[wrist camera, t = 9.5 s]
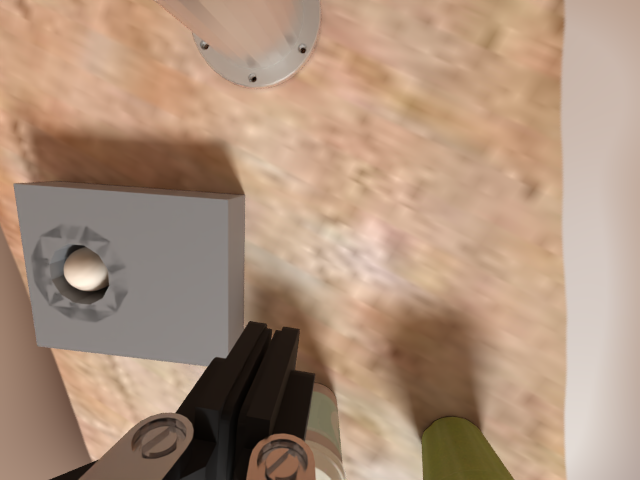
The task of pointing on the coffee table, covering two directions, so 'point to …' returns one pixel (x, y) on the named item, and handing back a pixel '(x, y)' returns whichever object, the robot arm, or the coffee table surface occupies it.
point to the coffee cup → (325, 435)
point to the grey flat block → (136, 269)
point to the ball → (86, 270)
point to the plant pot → (459, 453)
